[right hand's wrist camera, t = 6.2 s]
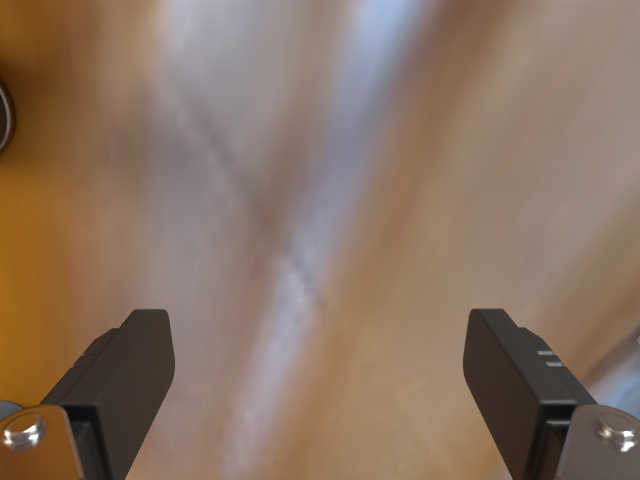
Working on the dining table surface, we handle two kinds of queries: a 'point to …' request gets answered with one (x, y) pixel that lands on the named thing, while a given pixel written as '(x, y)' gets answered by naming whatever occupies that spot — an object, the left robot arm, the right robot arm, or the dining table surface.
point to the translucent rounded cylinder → (8, 408)
